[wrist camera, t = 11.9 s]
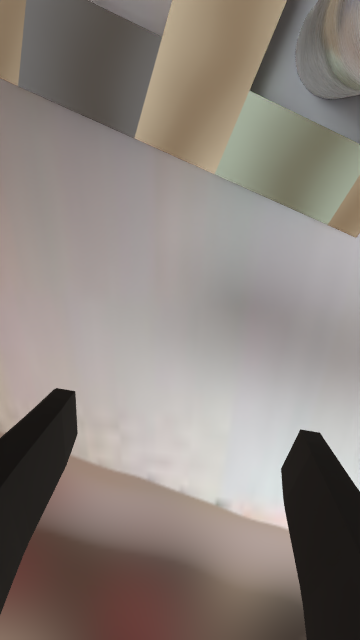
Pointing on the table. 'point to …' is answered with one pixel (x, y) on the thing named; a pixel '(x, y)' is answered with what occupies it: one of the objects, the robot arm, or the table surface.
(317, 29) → the metal cylinder
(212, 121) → the tool stand
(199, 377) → the table surface
